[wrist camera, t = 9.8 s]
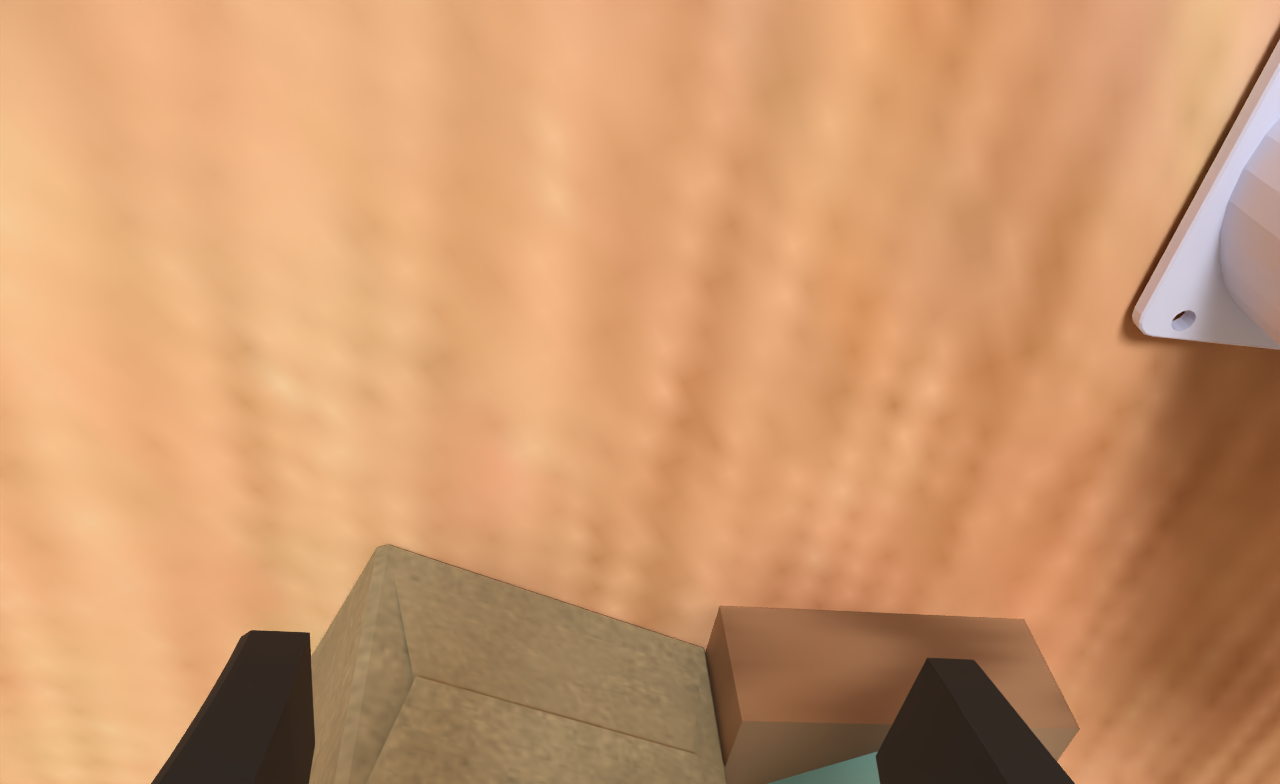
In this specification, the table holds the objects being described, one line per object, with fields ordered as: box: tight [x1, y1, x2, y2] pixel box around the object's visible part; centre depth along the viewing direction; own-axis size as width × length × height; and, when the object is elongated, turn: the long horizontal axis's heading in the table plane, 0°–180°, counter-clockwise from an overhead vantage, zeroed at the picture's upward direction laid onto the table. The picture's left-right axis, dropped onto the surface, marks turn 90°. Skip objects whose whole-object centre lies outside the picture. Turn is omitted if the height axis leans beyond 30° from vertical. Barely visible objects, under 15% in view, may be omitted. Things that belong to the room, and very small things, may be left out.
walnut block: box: [705, 606, 1080, 784], centre depth 29 cm, size 9×9×4 cm
